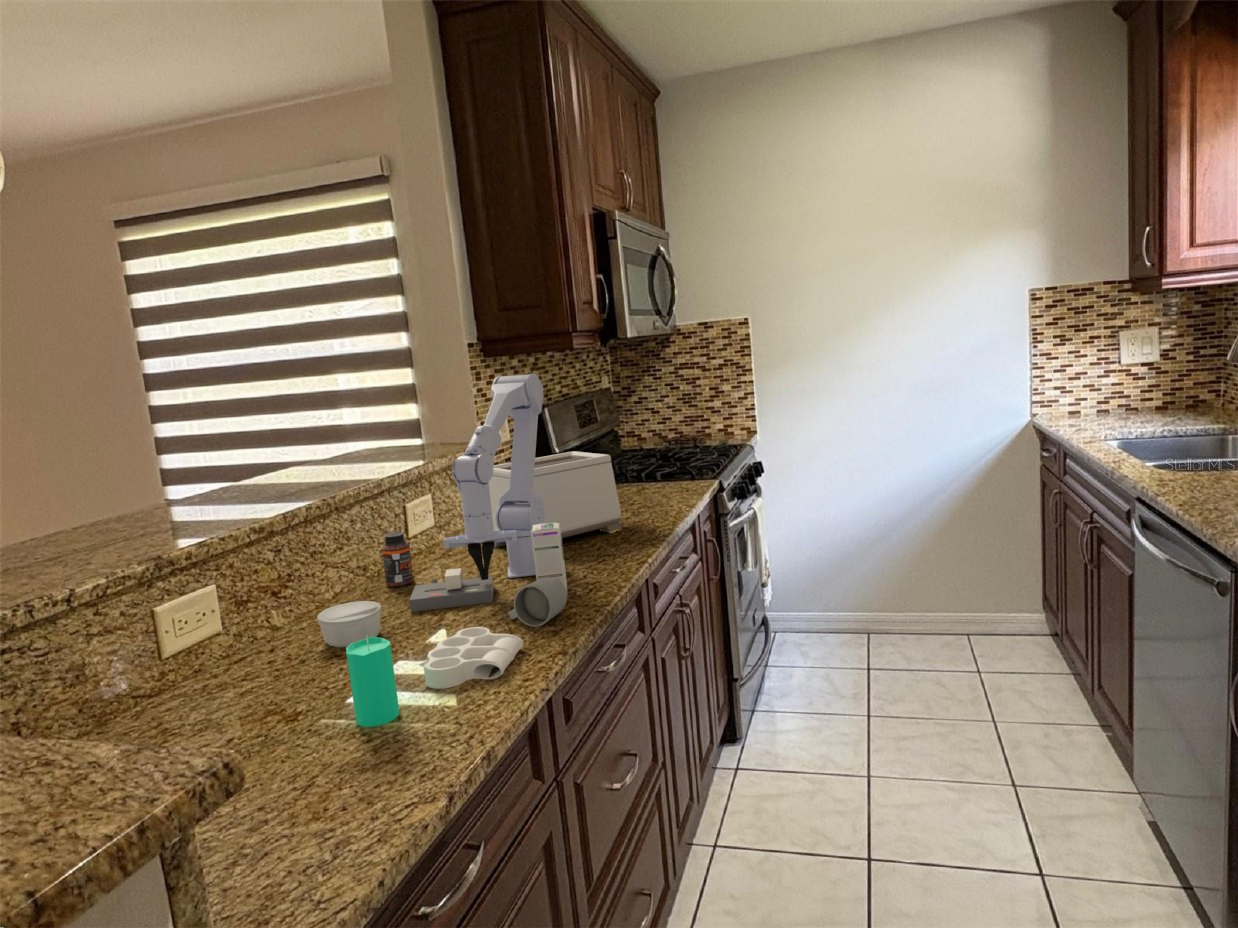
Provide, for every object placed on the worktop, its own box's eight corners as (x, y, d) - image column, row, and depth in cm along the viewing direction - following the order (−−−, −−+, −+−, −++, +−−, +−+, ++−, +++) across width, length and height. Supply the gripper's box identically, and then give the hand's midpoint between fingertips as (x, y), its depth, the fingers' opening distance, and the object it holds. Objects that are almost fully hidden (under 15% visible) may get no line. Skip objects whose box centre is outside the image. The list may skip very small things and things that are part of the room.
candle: (361, 709, 114) (349, 629, 112) (403, 704, 114) (392, 624, 112) (350, 729, 108) (338, 645, 106) (395, 723, 108) (384, 640, 106)
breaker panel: (494, 576, 176) (493, 564, 176) (492, 602, 158) (491, 589, 158) (421, 584, 174) (419, 573, 174) (410, 612, 156) (409, 599, 156)
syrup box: (567, 599, 156) (560, 527, 154) (537, 602, 155) (530, 530, 153) (567, 590, 161) (560, 521, 159) (538, 593, 161) (531, 524, 159)
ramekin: (358, 652, 137) (354, 622, 136) (306, 648, 141) (302, 620, 140) (397, 628, 147) (393, 601, 147) (348, 626, 151) (344, 599, 151)
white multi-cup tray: (496, 690, 117) (403, 691, 120) (529, 644, 135) (448, 645, 137) (493, 669, 117) (400, 670, 119) (527, 625, 134) (445, 627, 137)
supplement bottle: (406, 587, 173) (399, 537, 172) (381, 588, 175) (374, 538, 173) (418, 579, 179) (412, 530, 178) (394, 579, 181) (387, 531, 179)
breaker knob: (462, 581, 164) (461, 568, 164) (461, 588, 159) (459, 574, 159) (448, 582, 164) (446, 569, 163) (446, 589, 159) (444, 576, 158)
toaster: (633, 528, 211) (627, 452, 208) (522, 557, 191) (513, 473, 188) (591, 519, 227) (585, 448, 223) (484, 545, 206) (476, 467, 203)
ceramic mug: (571, 612, 148) (567, 572, 147) (553, 628, 140) (548, 586, 139) (521, 611, 152) (516, 572, 151) (500, 626, 144) (495, 585, 143)
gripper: (439, 521, 155) (447, 588, 157) (513, 513, 157) (520, 579, 159) (442, 514, 162) (450, 578, 164) (513, 506, 164) (520, 570, 166)
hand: (485, 578), depth 162 cm, fingers closed
